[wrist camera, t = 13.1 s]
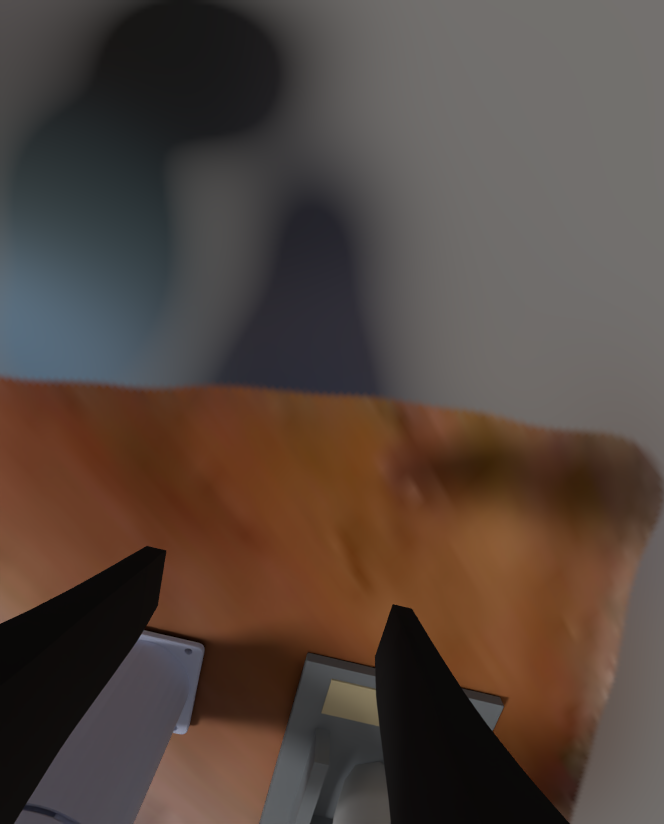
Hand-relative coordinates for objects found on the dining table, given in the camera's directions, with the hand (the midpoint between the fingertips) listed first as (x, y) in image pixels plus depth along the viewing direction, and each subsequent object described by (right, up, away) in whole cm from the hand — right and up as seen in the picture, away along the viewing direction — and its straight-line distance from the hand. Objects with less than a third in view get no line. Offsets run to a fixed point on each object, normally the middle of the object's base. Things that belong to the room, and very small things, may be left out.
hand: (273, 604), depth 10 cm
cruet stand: (+5, -21, +15) cm, 26 cm away
